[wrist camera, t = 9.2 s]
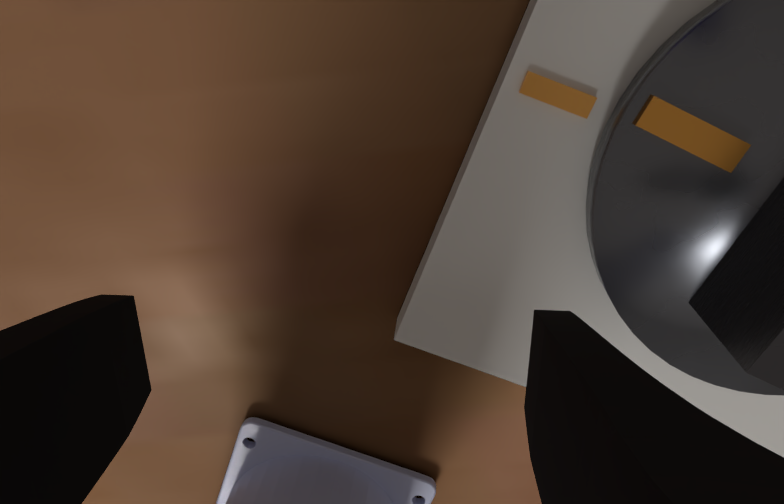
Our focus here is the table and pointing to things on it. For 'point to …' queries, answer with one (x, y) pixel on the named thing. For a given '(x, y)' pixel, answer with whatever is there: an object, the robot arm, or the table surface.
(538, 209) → the dial panel
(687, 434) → the robot arm
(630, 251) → the dial
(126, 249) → the table surface
